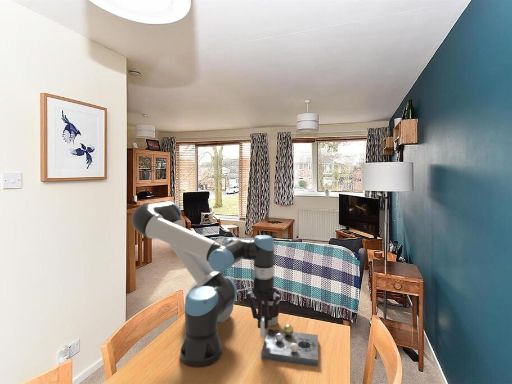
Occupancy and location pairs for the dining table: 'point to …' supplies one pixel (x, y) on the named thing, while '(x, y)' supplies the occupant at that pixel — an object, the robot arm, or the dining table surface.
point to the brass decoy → (288, 330)
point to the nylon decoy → (294, 347)
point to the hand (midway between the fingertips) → (262, 335)
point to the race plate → (282, 349)
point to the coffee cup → (276, 312)
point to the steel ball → (279, 337)
